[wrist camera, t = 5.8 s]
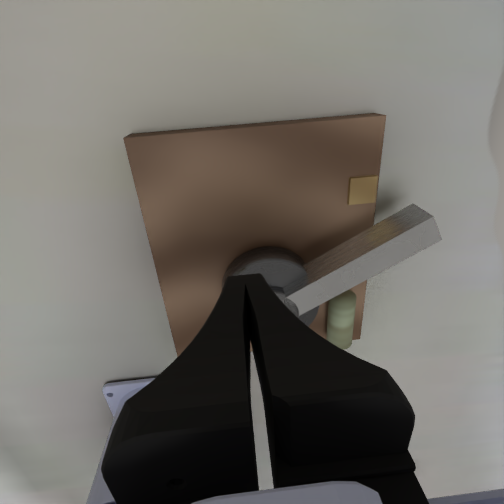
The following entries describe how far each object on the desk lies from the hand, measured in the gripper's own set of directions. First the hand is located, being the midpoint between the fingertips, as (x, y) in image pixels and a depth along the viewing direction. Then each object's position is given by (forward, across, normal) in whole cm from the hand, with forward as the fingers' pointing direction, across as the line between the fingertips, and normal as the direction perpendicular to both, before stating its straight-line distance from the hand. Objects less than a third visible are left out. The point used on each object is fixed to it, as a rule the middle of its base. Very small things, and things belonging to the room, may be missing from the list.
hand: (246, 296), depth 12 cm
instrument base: (+9, -2, +3) cm, 10 cm away
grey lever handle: (+8, -5, +3) cm, 9 cm away
